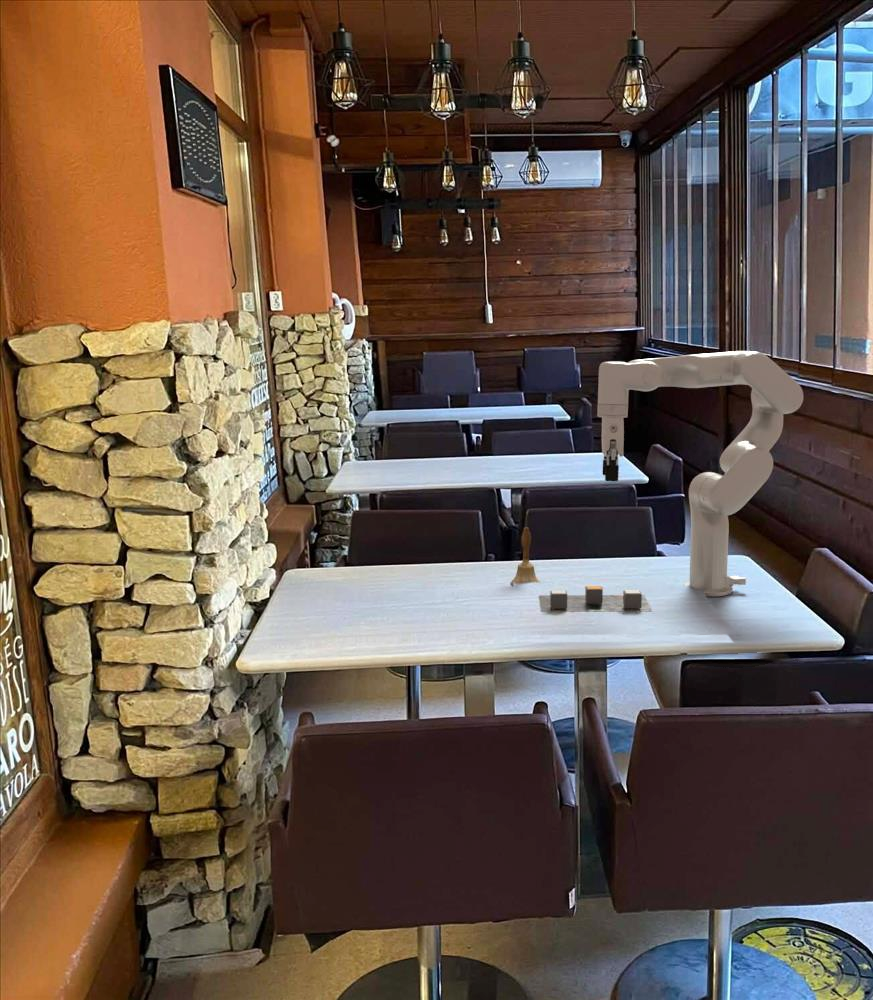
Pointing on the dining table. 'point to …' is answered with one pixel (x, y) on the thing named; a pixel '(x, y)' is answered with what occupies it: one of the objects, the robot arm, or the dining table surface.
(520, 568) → the hand bell
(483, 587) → the dining table surface
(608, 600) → the panel
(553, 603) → the breaker
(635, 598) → the block
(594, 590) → the block
